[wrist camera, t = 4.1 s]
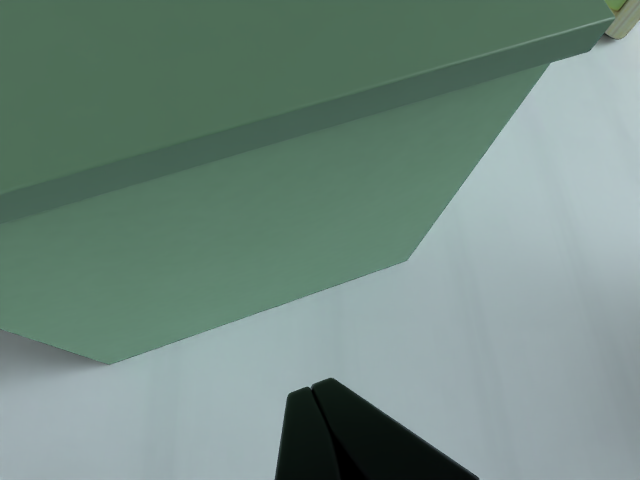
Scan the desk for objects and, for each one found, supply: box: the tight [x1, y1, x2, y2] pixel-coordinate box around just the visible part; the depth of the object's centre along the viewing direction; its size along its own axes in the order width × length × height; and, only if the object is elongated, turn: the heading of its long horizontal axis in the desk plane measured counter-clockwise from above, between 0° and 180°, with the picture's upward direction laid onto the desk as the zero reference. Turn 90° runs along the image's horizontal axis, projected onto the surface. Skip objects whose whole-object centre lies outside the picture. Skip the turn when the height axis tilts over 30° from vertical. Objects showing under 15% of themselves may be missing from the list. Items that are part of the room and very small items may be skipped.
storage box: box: [0, 0, 615, 365], centre depth 15 cm, size 11×13×13 cm
